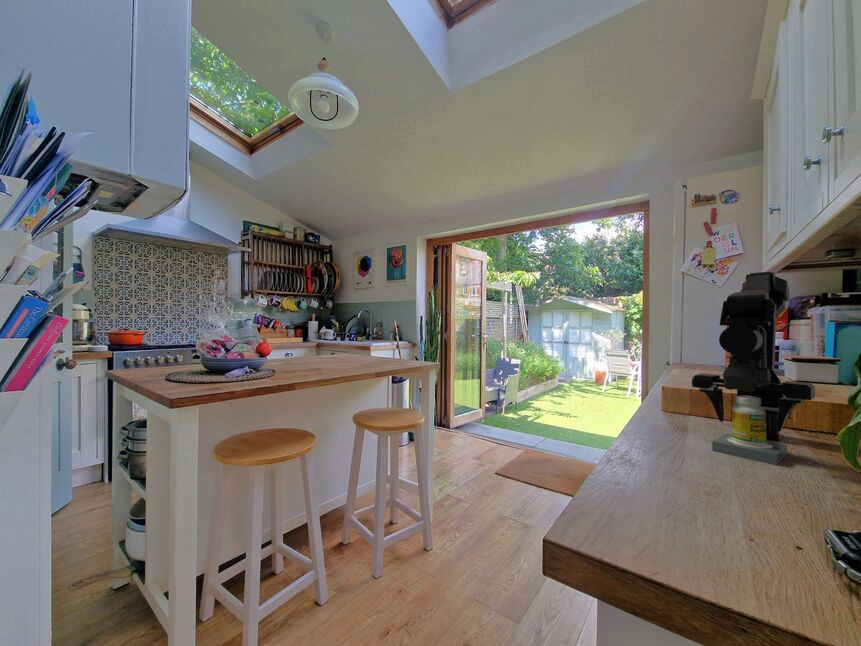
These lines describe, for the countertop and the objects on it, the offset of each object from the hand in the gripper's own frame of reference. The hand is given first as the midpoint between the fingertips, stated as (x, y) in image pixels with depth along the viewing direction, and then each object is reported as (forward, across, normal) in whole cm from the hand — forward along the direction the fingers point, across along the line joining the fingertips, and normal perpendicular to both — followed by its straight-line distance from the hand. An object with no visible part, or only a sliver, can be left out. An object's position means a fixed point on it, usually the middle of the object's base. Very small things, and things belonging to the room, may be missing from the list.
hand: (748, 426), depth 74 cm
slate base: (+6, 0, 0) cm, 6 cm away
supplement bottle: (+4, 0, 0) cm, 4 cm away
